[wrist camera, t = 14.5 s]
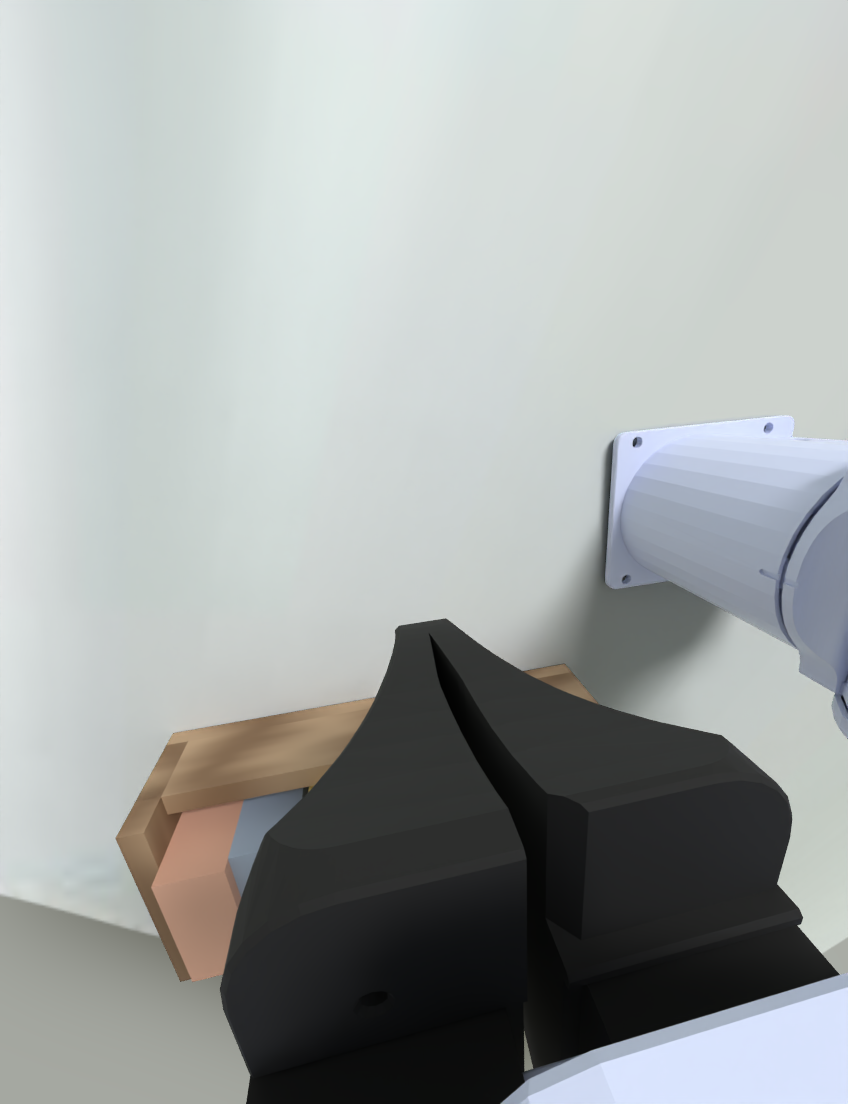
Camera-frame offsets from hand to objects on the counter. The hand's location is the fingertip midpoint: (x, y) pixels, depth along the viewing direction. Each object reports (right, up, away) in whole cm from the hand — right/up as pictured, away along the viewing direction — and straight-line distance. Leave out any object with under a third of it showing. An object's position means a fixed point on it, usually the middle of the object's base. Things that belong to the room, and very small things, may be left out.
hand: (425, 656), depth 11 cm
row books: (-8, -11, +12) cm, 18 cm away
